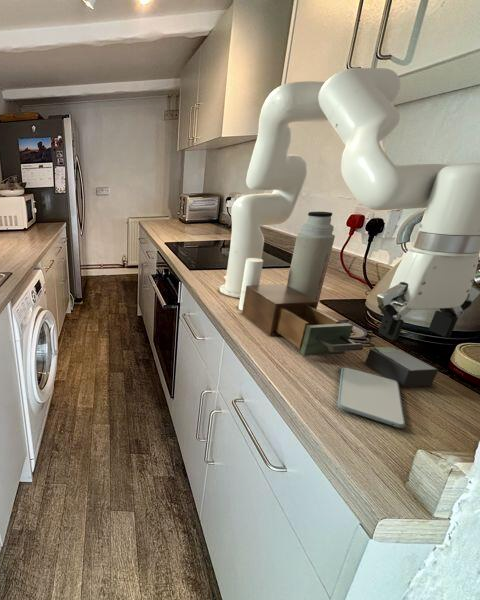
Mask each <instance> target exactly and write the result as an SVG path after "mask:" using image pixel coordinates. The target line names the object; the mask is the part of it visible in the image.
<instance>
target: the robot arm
mask: <svg viewBox="0 0 480 600" xmlns="http://www.w3.org/2000/svg"><path fill="white" fill-rule="evenodd" d="M400 90H401V80H400V77H399V75H398V74H397V72H395V71H394V70H393V69H390V68H385V67H384V68H383V67H353V68H352V67H351V68H346V69H343V70H341V71H338V72H336V73H335V74H333V75H332V76H330V77H329V78H328V79H327V80H326V81H313V80H307V81H303V80H302V81H293V82H287V83H284V84H281V85H279V86H278V87H276V88H274V89H273V90H272V91H271V92H270V93H269V94H268V96H267V97H266V99H265V101H264V102H263V104H262V107H261V108H260V112H259V119H258V128H257V129H258V131H257V137H256V140H255V144H254V147H253V151H252V154H251V157H250V161H249V165H248V169H247V172H246V178H245V183H246V187H248V189H249V190H253V191H272V192H271V193H251V194H245V195H242V196H240V197H238V198H237V199H235V201H234V202H233V203H232V206H231V209H230V217H231V235H230V244H229V253H228V259H227V267H226V275H224V277H223V279H224V280H225V282H224V283H223V284H222V285H220V286H219V292H220V293H221V294H224V295H225V296H228V297H231V298H237V299H240V296H241V289H242V283H243V276H244V270H245V263H246V259H247V258H258V259H262V258H263V253H264V245H265V237H264V234H263V231H262V230H261V227H263V226H273V225H274V226H275V225H281V224H283V223H285V222H286V221H288V220H289V219H290V217H291V216H292V214H293V212H294V210H295V208H296V205H297V202H298V200H299V197H300V194H301V192H302V190H303V187H304V184H305V181H306V179H307V175H308V164H307V162H306V160H305V158H304V157H303V156H301V155H299V154H291V153H290V154H288V153H289V149H290V147H291V145H292V141H293V140H292V139H293V135H292V128H291V126H290V123H327V122H329V123H330V125H331V126H332V128H334V130H335V132H336V134H337V135H338V136H339V138H340V140H341V141H342V143H343V144H344V146H345V147H344V149H343V152H342V155H341V162H340V163H341V165H340V172H341V176H342V179H343V181H344V183H345V185H346V186H347V188H348V189H349V191H350V192H351V194H352V195H353V197H354V198H355V199H356V201H357V202H358V203H360V204H361V205H362V206H363V207H365V208H367V209H370V210H373V211H392V210H408V209H411V210H412V209H423V208H425V210H424V213H423V216H422V219H421V221H420V225H419V228H418V231H417V234H416V236H415V240H414V243H413V245H412V249H407V251H406V252H405V254H404V256H403V258H402V259H401V261H400V262H399V264H398V266H397V267H396V268H397V269H396V271H395V272H394V275H393V277H392V280H391V282H390V285H389V287H388V289H386V290H384V291H381V292H380V293H378V294H377V295H376V301H377V304H378V305H377V308H378V309H379V310H380V314H382V315H383V316H382V319H381V322H380V325H379V328H378V334H380V335H381V336H384V337H386V338H387V339H390V340H392V341H397V340H398V339H399V336H400V334H401V331H402V328H403V326H404V325H403V324H404V319H402V318H403V317H404V316H406V315H407V314H408V313H410V312H411V311H413V310H414V311H416V310H417V311H419V310H421V311H422V310H423V311H424V310H435V312H434V314H433V317H432V319H431V321H430V324H429V327H428V331H429V332H432V333H435V334H436V335H439V336H442V337H444V338H450V337H451V336H452V334H453V331H454V329H455V327H456V324H457V323H458V319H459V318H460V317H462V316H463V315H464V314H465V313H464V311H465V310H466V309H468V308H470V307H471V306H472V304H473V303H472V302H474V301H475V299H476V298H478V296H479V295H480V290H479V289H477V288H475V287H473V283H474V280H475V276H476V273H477V269H478V263H479V260H480V259H479V257H480V162H471V163H456V164H444V163H443V164H442V163H421V164H420V163H412V164H411V163H410V164H395V163H394V162H393V161H392V160H391V158H389V156H388V155H387V153H386V152H385V151H384V149H383V147H382V145H381V142H382V141H383V140H384V139H386V138H387V137H388V136H389V135H391V133H392V132H393V131H394V130H395V129H396V128H397V126H398V125H399V122H400V120H401V114H400V112H399V110H398V109H397V108H396V107H395V106H394V102H395V101H396V99H397V98H398V95H399V94H400ZM398 307H400V308H399V309H398V310H397V308H398Z"/></svg>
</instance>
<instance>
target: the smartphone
mask: <svg viewBox="0 0 480 600" xmlns="http://www.w3.org/2000/svg"><path fill="white" fill-rule="evenodd" d="M336 406H337V407H338V408H339V409H340V410H342V411H345V412H348V413H351V414H355V415H358V416H360V417H364V418H367V419H371V420H374V421H376V422H380V423H382V424H385V425H388V426H392V427H395V428H397V429H403V428H405V427H406V419H405V415H404V409H403V401H402V396H401V390H400V385H399V383H398V382H397V381H395V380H392V379H388V378H387V377H385V376H380V375H378V374H377V375H376V374H372V373H369V372H365V371H362V370H359V369H353V368H349V367H345V366H344V367H341V370H340V376H339V387H338V394H337V405H336Z"/></svg>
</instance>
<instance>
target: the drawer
mask: <svg viewBox="0 0 480 600" xmlns="http://www.w3.org/2000/svg"><path fill="white" fill-rule="evenodd" d="M353 327H354V324H351V323H348V322H346V323H345V322H344V323H343V322H342V323H341V321H340V320H338V319H336V318H334V317H332V316H330V315H329V314H327V313H325V312H323V311H321V310H319V309H318V308H317V309H315V308H314V307H312V306H310V305H301V306H281V307H279V308H278V313H277V318H276V323H275V327H274V330H275V331H276V332H278V333H279V334H280V335H279V336H281V337H283V338H284V339H286V340H287V341H289V342H290V343H291V344H293V345H294V346H295V347H297V348H298V349H299V350H300V352H299V353H300V354H301V355H302V356H303V357H311V356H312V357H313V356H314V357H315V356H330V355H331V356H332V355H345V354H346V352H353V351H354V352H355V351H358V352H359V351H363V350H364V345H363V343H360V342H358V343H357V342H354V341H353V340H351V339H350V338H351V334H352V331H353Z"/></svg>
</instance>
